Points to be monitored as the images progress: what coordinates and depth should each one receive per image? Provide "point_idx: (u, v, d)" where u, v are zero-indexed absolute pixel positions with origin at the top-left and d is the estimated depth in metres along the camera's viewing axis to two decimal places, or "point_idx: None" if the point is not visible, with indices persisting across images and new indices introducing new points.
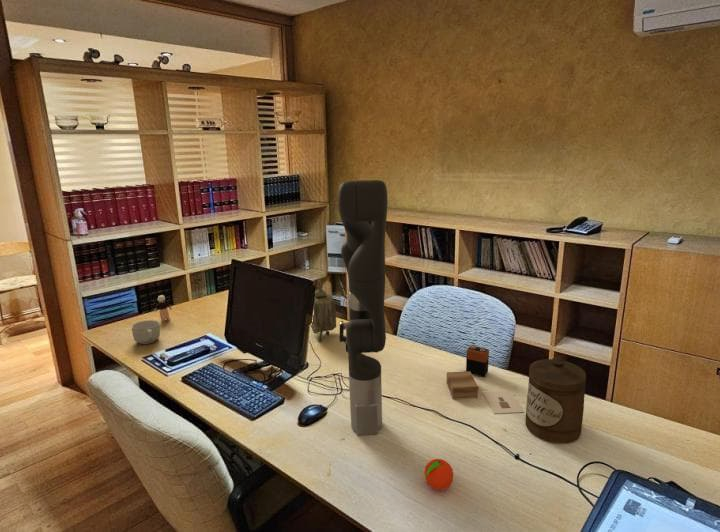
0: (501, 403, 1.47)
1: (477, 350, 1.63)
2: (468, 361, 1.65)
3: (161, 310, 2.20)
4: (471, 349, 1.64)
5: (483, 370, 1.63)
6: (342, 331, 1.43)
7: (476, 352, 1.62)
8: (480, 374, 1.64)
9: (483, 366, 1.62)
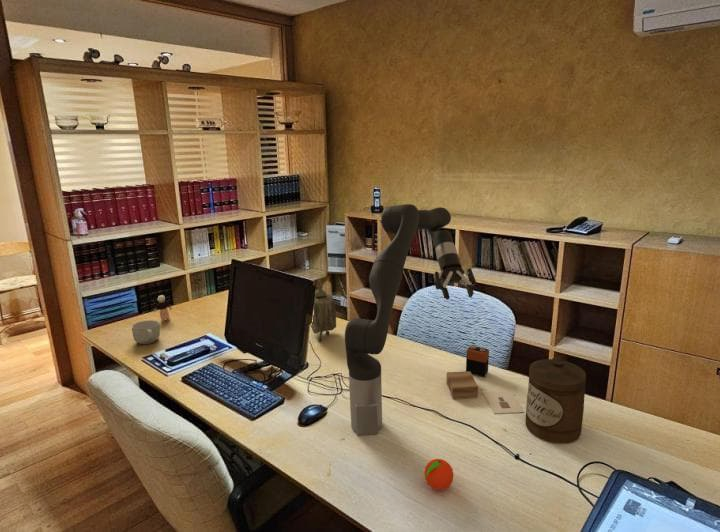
0: (501, 403, 1.47)
1: (477, 350, 1.63)
2: (468, 361, 1.65)
3: (161, 310, 2.20)
4: (471, 349, 1.64)
5: (483, 370, 1.63)
6: (438, 277, 1.66)
7: (476, 352, 1.62)
8: (480, 374, 1.64)
9: (483, 366, 1.62)
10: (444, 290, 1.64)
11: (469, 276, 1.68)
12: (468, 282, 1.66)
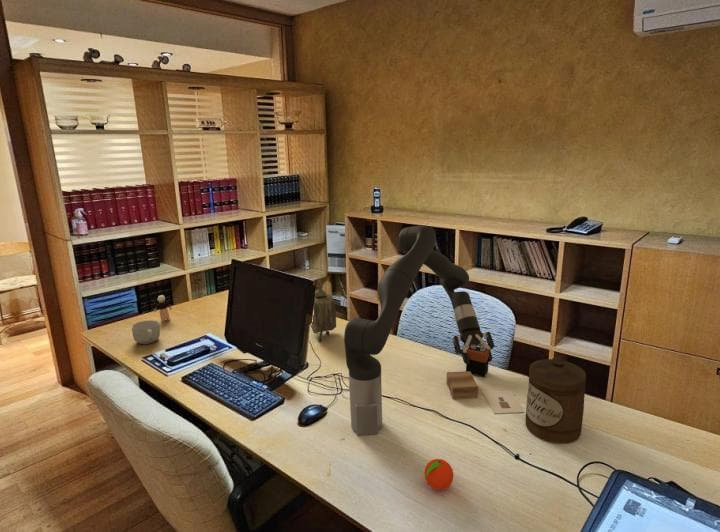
0: (501, 403, 1.47)
1: (477, 350, 1.63)
2: None
3: (161, 310, 2.20)
4: (471, 349, 1.64)
5: (483, 370, 1.63)
6: (457, 341, 1.66)
7: (476, 352, 1.62)
8: (480, 374, 1.64)
9: (483, 366, 1.62)
10: (464, 355, 1.64)
11: (488, 340, 1.68)
12: (487, 346, 1.66)
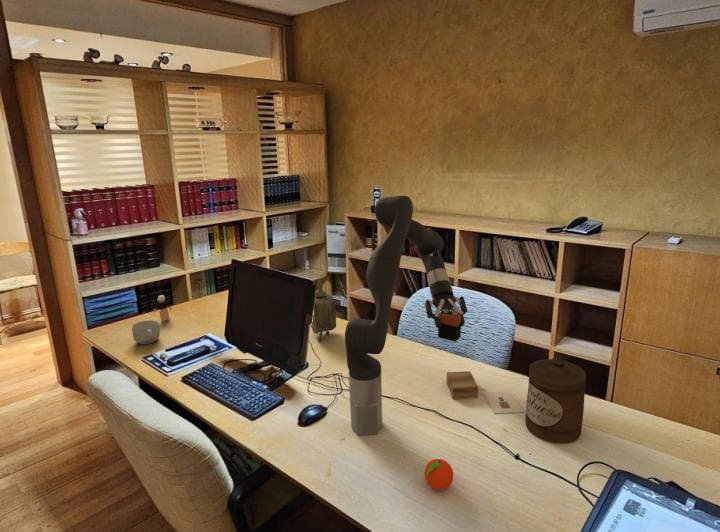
0: (501, 403, 1.47)
1: (449, 314, 1.59)
2: None
3: (161, 310, 2.20)
4: (443, 313, 1.60)
5: (455, 334, 1.59)
6: (429, 305, 1.62)
7: (448, 316, 1.58)
8: (452, 338, 1.60)
9: (455, 330, 1.58)
10: (436, 319, 1.60)
11: (461, 304, 1.64)
12: (459, 311, 1.62)
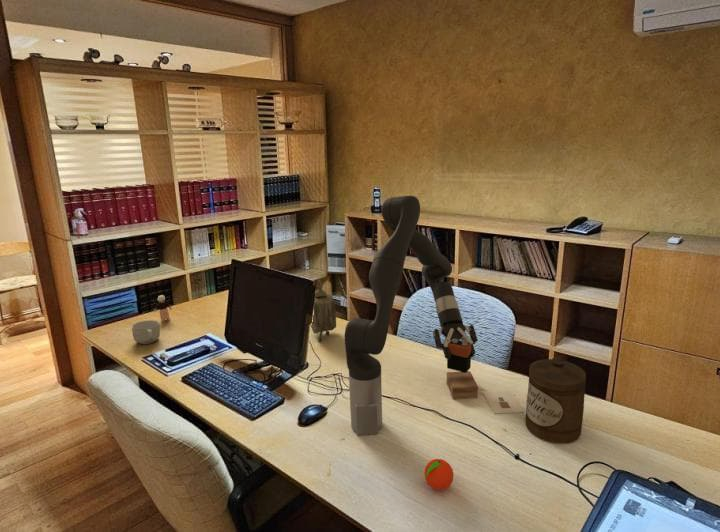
0: (501, 403, 1.47)
1: (459, 344, 1.53)
2: None
3: (161, 310, 2.20)
4: (452, 343, 1.54)
5: (465, 365, 1.52)
6: (438, 335, 1.55)
7: (458, 347, 1.52)
8: (462, 370, 1.53)
9: (465, 361, 1.52)
10: (445, 350, 1.54)
11: (471, 333, 1.58)
12: (469, 340, 1.56)
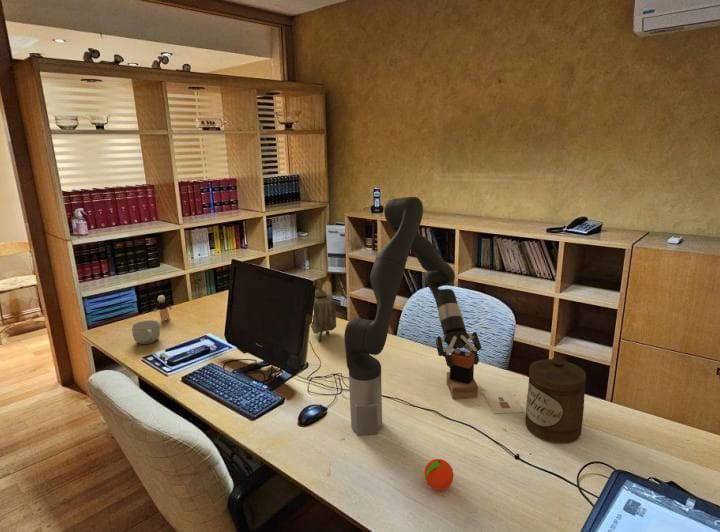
0: (501, 403, 1.47)
1: (461, 355, 1.51)
2: None
3: (161, 310, 2.20)
4: (455, 354, 1.52)
5: (468, 376, 1.51)
6: (441, 342, 1.54)
7: (460, 357, 1.51)
8: (464, 381, 1.52)
9: (468, 372, 1.51)
10: (447, 357, 1.52)
11: (474, 341, 1.56)
12: (473, 348, 1.54)
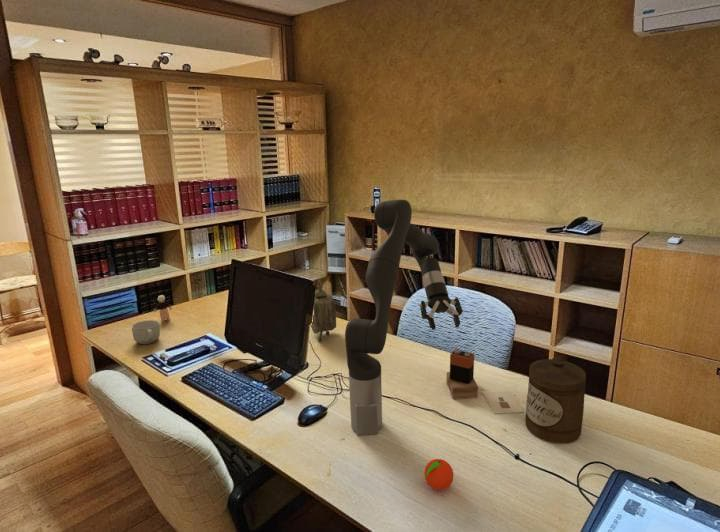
0: (501, 403, 1.47)
1: (461, 355, 1.51)
2: (451, 366, 1.53)
3: (161, 310, 2.20)
4: (455, 354, 1.52)
5: (468, 376, 1.51)
6: (424, 306, 1.64)
7: (460, 357, 1.51)
8: (464, 381, 1.52)
9: (468, 372, 1.51)
10: (430, 320, 1.62)
11: (456, 306, 1.66)
12: (455, 312, 1.64)
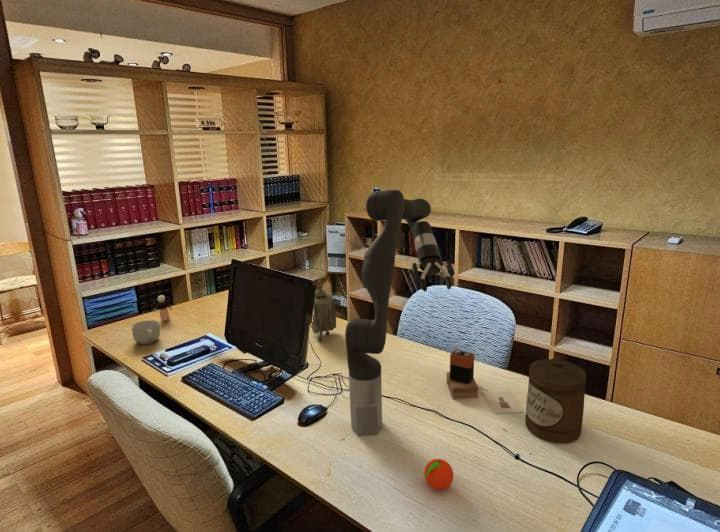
0: (501, 403, 1.47)
1: (461, 355, 1.51)
2: (451, 366, 1.53)
3: (161, 310, 2.20)
4: (455, 354, 1.52)
5: (468, 376, 1.51)
6: (416, 268, 1.62)
7: (460, 357, 1.51)
8: (464, 381, 1.52)
9: (468, 372, 1.51)
10: (422, 282, 1.60)
11: (448, 268, 1.65)
12: (447, 274, 1.62)
